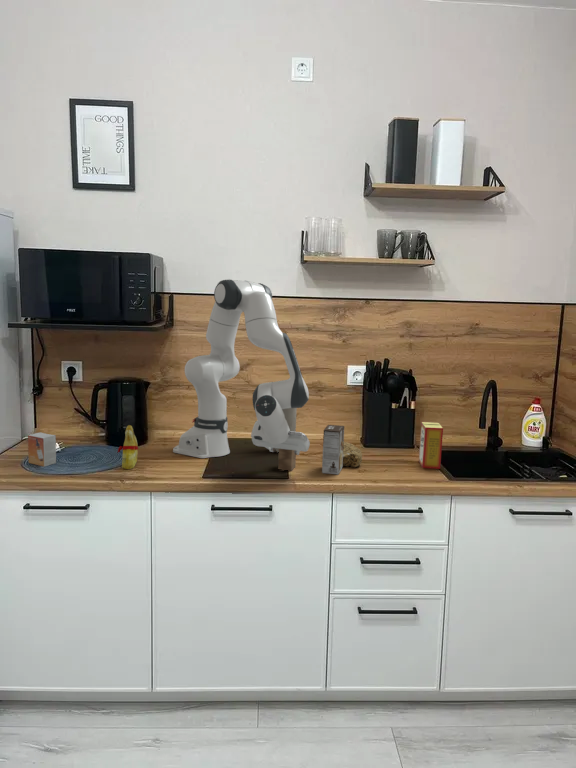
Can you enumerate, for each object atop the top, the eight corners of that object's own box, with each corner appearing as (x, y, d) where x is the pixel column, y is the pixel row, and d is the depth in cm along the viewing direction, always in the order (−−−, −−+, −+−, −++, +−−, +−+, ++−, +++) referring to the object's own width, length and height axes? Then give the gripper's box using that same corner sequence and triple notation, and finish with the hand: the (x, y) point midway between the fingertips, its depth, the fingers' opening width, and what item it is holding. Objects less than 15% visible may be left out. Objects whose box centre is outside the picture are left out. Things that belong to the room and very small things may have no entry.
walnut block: (278, 469, 210) (278, 448, 209) (282, 466, 214) (283, 445, 213) (291, 471, 208) (291, 450, 207) (295, 467, 213) (296, 446, 212)
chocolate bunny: (140, 461, 215) (139, 421, 212) (134, 470, 204) (134, 428, 202) (121, 461, 214) (120, 421, 212) (114, 470, 203) (114, 428, 201)
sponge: (364, 471, 215) (360, 446, 234) (362, 453, 213) (357, 429, 231) (329, 476, 217) (328, 451, 235) (326, 457, 214) (325, 434, 232)
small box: (28, 463, 208) (27, 435, 206) (40, 459, 213) (39, 431, 211) (44, 467, 204) (43, 438, 203) (56, 463, 209) (55, 434, 208)
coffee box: (325, 465, 216) (327, 424, 214) (342, 467, 215) (344, 425, 212) (321, 473, 207) (323, 429, 205) (339, 475, 206) (341, 431, 203)
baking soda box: (440, 468, 217) (443, 427, 215) (422, 467, 218) (425, 426, 215) (435, 461, 226) (438, 421, 224) (418, 460, 227) (421, 420, 224)
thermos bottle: (272, 451, 233) (273, 383, 228) (280, 447, 240) (282, 380, 235) (289, 454, 229) (292, 385, 225) (298, 450, 236) (300, 382, 232)
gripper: (307, 426, 195) (314, 447, 206) (251, 420, 202) (261, 441, 212) (303, 442, 192) (310, 462, 202) (246, 435, 198) (256, 456, 209)
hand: (284, 451), depth 207 cm, fingers open, 8 cm apart
